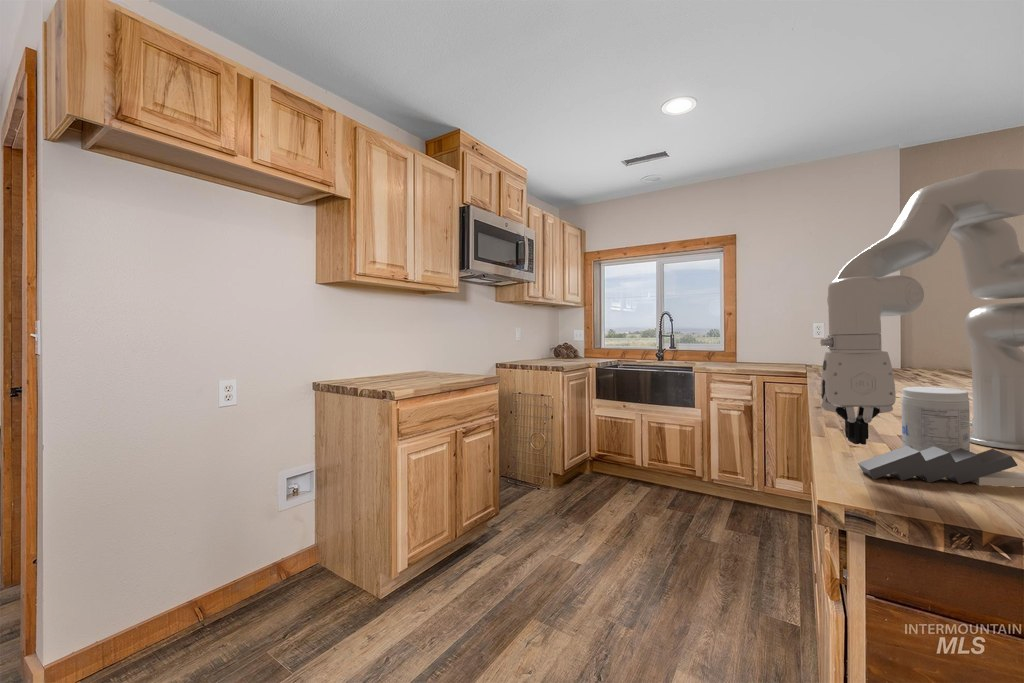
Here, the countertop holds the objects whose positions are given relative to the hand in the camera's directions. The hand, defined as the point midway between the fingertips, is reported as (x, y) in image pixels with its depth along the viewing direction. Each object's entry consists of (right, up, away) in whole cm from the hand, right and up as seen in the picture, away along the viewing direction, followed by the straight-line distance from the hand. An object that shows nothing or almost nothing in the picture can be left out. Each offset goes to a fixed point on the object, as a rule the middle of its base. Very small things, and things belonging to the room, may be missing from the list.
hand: (856, 442), depth 78 cm
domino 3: (+9, -5, -3) cm, 11 cm away
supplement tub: (+20, -6, +5) cm, 21 cm away
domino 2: (+5, -5, -2) cm, 8 cm away
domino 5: (+16, -5, -5) cm, 18 cm away
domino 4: (+13, -5, -4) cm, 14 cm away
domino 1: (+1, -5, 0) cm, 5 cm away
